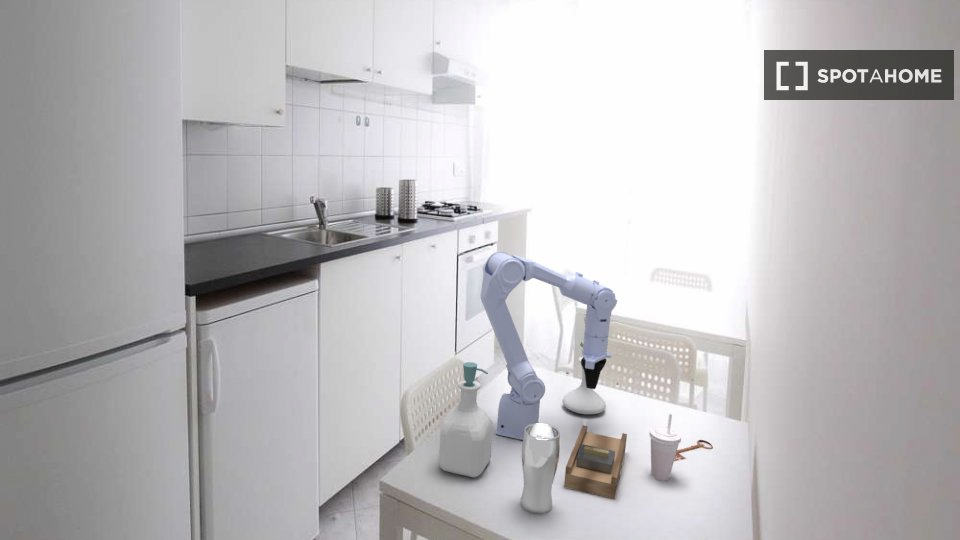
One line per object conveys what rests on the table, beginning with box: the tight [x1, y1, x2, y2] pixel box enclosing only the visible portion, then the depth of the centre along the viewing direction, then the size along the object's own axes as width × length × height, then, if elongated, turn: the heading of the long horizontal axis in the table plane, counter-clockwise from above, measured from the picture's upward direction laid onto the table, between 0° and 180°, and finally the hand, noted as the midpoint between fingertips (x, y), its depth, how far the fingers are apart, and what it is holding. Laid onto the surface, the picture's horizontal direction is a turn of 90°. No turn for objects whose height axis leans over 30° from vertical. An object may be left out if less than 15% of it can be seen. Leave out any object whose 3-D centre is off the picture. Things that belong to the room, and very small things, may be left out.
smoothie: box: [648, 413, 682, 481], centre depth 119 cm, size 6×6×14 cm
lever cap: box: [576, 444, 615, 474], centre depth 118 cm, size 7×6×3 cm
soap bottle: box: [438, 361, 494, 478], centre depth 118 cm, size 10×10×23 cm
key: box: [674, 439, 714, 462], centre depth 132 cm, size 6×1×15 cm
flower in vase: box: [562, 315, 607, 415], centre depth 150 cm, size 13×11×25 cm
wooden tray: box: [563, 424, 628, 500], centre depth 122 cm, size 10×20×4 cm, turn 160°
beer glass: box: [519, 422, 561, 515], centre depth 107 cm, size 7×7×15 cm
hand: (591, 387), depth 139 cm, fingers closed
